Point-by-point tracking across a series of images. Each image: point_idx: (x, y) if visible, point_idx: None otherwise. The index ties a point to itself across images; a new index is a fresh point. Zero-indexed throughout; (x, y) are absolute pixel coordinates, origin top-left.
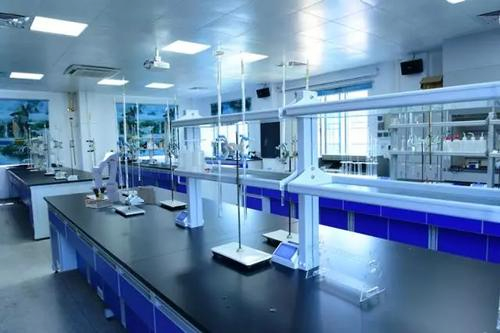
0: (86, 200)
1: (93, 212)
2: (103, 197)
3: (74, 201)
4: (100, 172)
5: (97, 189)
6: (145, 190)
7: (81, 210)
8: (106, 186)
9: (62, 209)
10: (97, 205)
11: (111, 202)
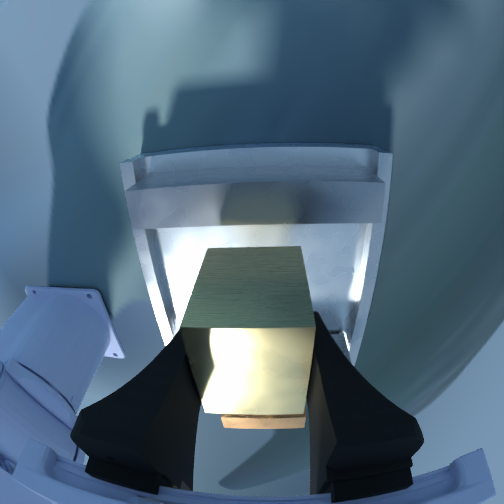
0: (305, 414)
1: (493, 31)
2: (215, 266)
3: (253, 469)
4: None
5: (351, 462)
6: None
7: (479, 232)
8: (40, 461)
9: (452, 376)
10: (385, 152)
11: (133, 166)
